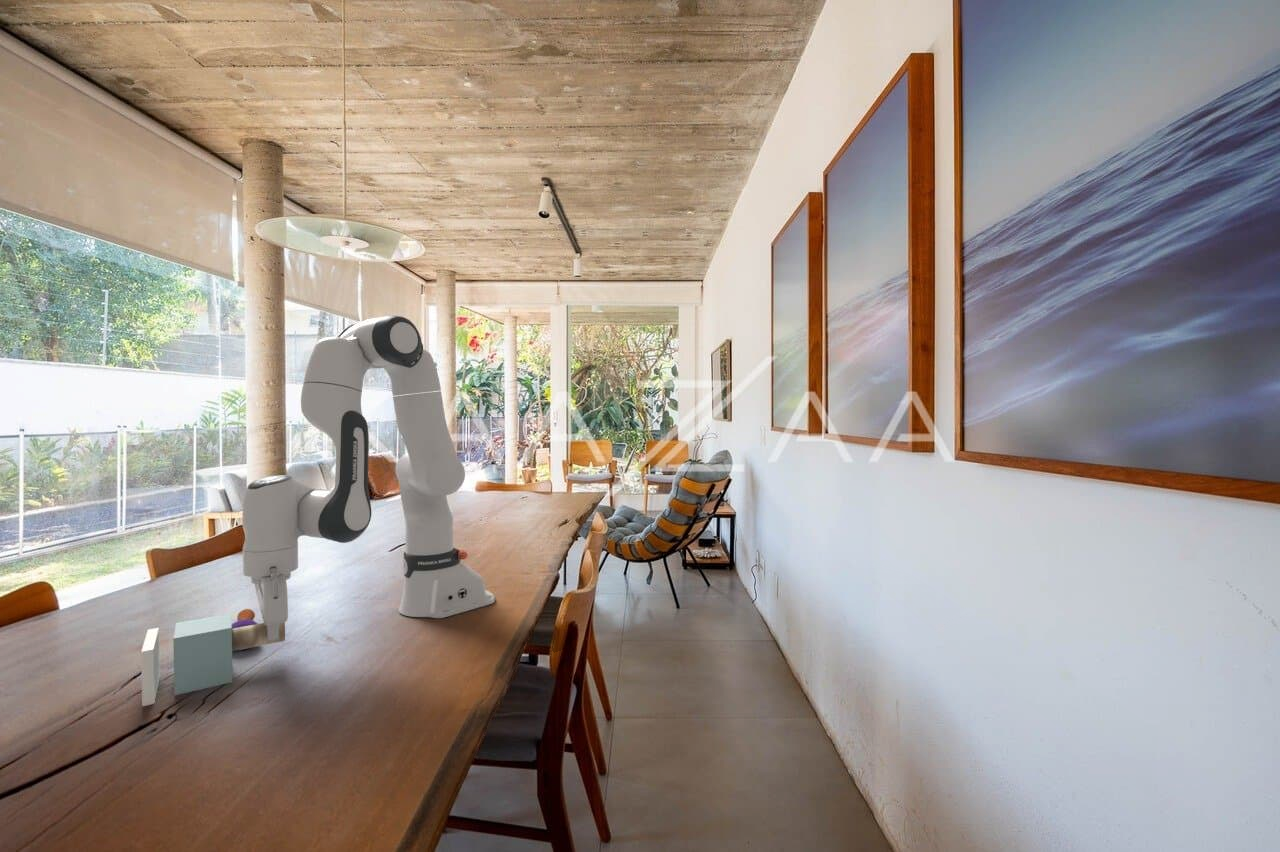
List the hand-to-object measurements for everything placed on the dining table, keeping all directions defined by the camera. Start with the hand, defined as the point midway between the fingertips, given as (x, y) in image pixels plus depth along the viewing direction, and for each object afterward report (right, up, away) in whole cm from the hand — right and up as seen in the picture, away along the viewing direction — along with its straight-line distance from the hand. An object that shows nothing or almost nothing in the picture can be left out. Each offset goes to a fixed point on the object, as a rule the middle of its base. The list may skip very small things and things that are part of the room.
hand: (271, 634), depth 108 cm
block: (-8, -6, -6) cm, 12 cm away
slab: (-14, -6, -10) cm, 18 cm away
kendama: (-15, -6, +14) cm, 21 cm away
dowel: (-2, -2, -2) cm, 3 cm away
